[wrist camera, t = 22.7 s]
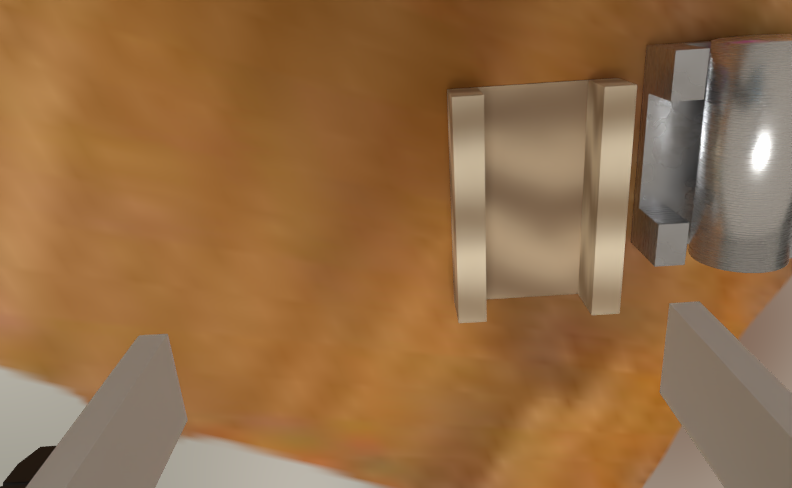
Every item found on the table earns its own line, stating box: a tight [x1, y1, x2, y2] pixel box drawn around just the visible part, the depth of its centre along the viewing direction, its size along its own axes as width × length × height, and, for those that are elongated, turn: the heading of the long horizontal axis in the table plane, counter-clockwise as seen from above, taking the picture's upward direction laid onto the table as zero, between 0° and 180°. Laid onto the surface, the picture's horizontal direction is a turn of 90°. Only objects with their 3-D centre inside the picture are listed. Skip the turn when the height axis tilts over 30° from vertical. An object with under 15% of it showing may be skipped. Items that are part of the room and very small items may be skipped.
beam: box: [447, 78, 637, 323], centre depth 43 cm, size 16×12×4 cm
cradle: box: [631, 41, 792, 266], centre depth 41 cm, size 14×11×4 cm
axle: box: [688, 34, 792, 273], centre depth 40 cm, size 14×6×6 cm, turn 4°
